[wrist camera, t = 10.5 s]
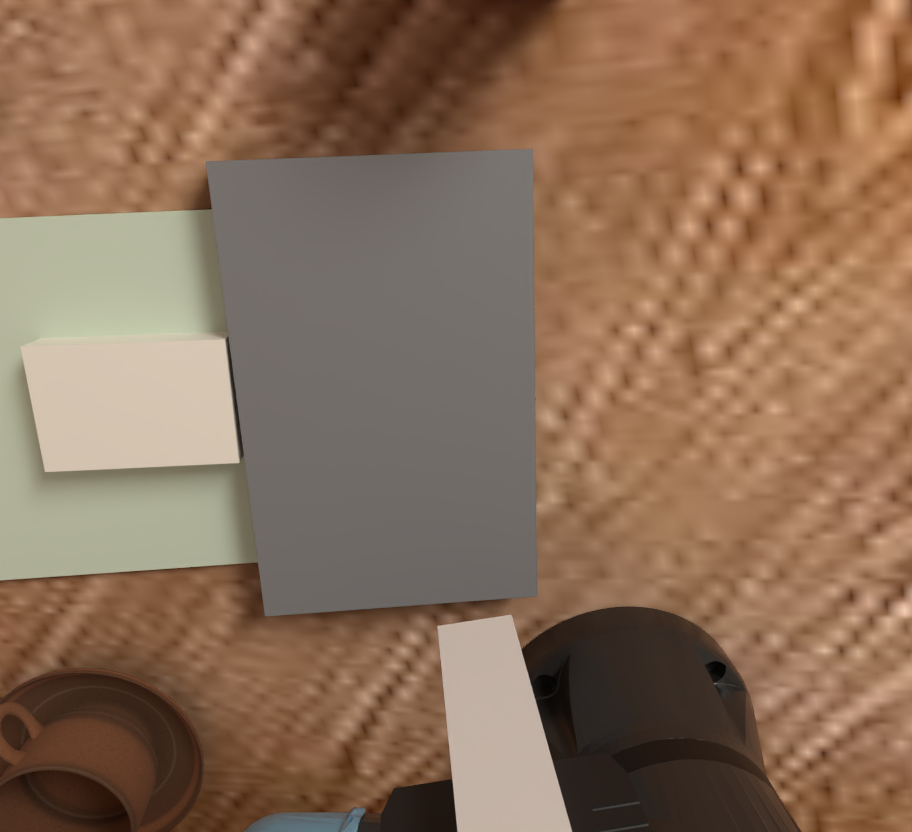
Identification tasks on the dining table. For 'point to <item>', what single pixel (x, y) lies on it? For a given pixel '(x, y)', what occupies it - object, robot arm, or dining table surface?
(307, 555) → the plate
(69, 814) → the cup and saucer
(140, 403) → the cream flat block
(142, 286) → the sage mat
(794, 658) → the dining table surface
